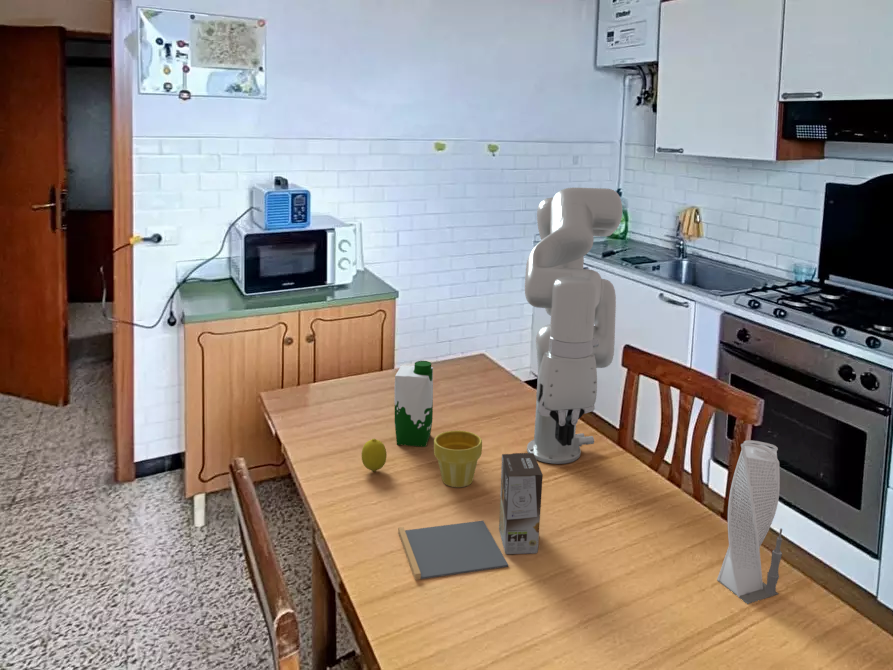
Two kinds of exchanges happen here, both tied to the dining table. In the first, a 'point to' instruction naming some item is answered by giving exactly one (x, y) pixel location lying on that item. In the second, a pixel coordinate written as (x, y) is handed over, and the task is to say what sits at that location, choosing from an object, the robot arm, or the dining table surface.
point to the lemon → (374, 455)
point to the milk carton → (414, 404)
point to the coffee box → (520, 503)
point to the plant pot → (457, 456)
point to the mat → (451, 549)
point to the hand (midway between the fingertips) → (563, 442)
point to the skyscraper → (752, 523)
